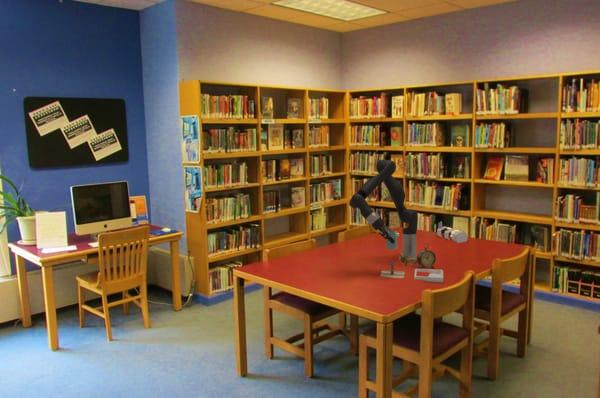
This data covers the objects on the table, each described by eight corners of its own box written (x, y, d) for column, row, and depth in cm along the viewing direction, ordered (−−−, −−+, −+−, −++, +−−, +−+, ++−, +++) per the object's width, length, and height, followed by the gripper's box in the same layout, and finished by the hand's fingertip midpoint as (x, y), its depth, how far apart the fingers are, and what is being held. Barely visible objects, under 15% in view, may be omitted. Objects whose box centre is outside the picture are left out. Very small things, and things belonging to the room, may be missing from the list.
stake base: (381, 272, 305) (381, 257, 303) (405, 273, 301) (405, 258, 300) (379, 279, 291) (379, 263, 290) (403, 280, 288) (403, 264, 286)
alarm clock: (420, 270, 306) (420, 245, 304) (416, 268, 311) (416, 243, 309) (436, 268, 309) (436, 243, 307) (431, 266, 314) (431, 241, 312)
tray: (415, 273, 301) (415, 268, 300) (442, 274, 296) (442, 269, 296) (414, 281, 285) (414, 276, 285) (443, 283, 281) (443, 277, 281)
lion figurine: (397, 267, 314) (397, 254, 313) (399, 265, 319) (399, 252, 317) (420, 270, 307) (420, 256, 306) (422, 268, 312) (422, 254, 311)
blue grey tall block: (389, 247, 297) (388, 230, 296) (399, 247, 294) (399, 231, 293) (386, 249, 293) (386, 232, 291) (397, 249, 290) (397, 233, 288)
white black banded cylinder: (437, 236, 397) (437, 220, 395) (448, 235, 400) (448, 219, 398) (456, 243, 373) (456, 226, 372) (467, 241, 377) (467, 225, 375)
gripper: (376, 218, 288) (396, 240, 285) (382, 214, 301) (402, 235, 297) (367, 227, 291) (387, 248, 288) (374, 222, 304) (393, 243, 300)
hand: (395, 241), depth 292 cm, fingers closed on blue grey tall block, 5 cm apart
